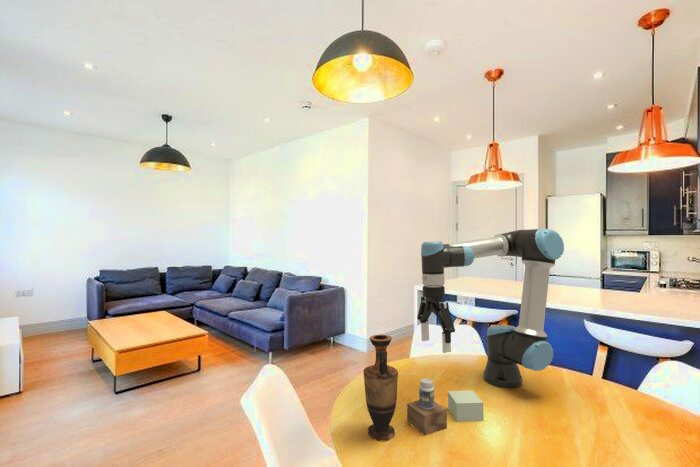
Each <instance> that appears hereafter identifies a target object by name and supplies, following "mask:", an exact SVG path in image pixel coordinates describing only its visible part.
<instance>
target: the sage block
mask: <svg viewBox="0 0 700 467" xmlns="http://www.w3.org/2000/svg"><path fill="white" fill-rule="evenodd" d="M447 408H448V409H447V410H449V412H450V414H451V415H452V417H453V418H454V420H455V419H456V420H455V421H456V422H483V421H484V402H483V401H482V399H481V398H480V397H479V396H478V394H476V393H475V391H474V390H450V391H449V390H448V391H447Z"/></svg>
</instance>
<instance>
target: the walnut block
mask: <svg viewBox="0 0 700 467" xmlns="http://www.w3.org/2000/svg"><path fill="white" fill-rule="evenodd" d="M447 410H448V409H447V408H445V407H444V406H443V405H441V404H439V403H437V402H436V401H434V408H433V409H430V410H427V409H423V408H421V407H420V405H419V400H415V401H412V402H408V403H406V414H407V416H406V418H407V420H406V421H408V422H409V423H408V422H407V423H408V424H409V425H411V424H412V425H413V426H414V427H413V426H412V425H411V426H412V427H413V428H415V429H416V430H417V429H418V430H419V431H418V430H417V431H418V432H419V433H421V434H422V433H423V434H424V436H427V434H428V435H431V434H434V433H436V431H437V432H439V431H443V430H445V429H447V428H448V412H447ZM433 432H434V433H433ZM430 433H431V434H430ZM423 434H422V435H423Z"/></svg>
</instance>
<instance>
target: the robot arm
mask: <svg viewBox="0 0 700 467" xmlns="http://www.w3.org/2000/svg"><path fill="white" fill-rule="evenodd" d="M420 250H421V252H420V255H421V258H420V259H421V273H422V277H421V280H422V281H421V282H422V285H423V286H422V296H421V297H420V305H419V309H418V313H417V316H416V318H417V320H418V321H419V323H420V329H421V332H420V333H421V342H426V341H427V342H428V341H430V328H429V319H430V316H431V314H434V315H435V316H436V317H437V319H438V323H439V324H440V326H441V330H442V332H441V338H442V339H441V341H442V342H441V344H442V353H444V354H446V353H451V352H452V333H455V332H456V328H455V325H454V321H453V318H452V315H451V311H450V307H449V302H448V301H445V302H444V301H443V298H445V296H446V293H445V291H446V290H445V289H446V288H445V286H444V285H445V269H446V268H457V267H458V268H459V267H462V268H465V267H468V266H470V265H472V264H473V262H474V261H475V259H477V258H478V259H480V258H485V257H492V256H494V257H495V256H497V257H516V258H521V262H522V264H523V265H524V273H523V274H524V275H523V283H522V284H523V285H522V294H521V301H520V312H519V319H518V325H517V326H516V325H515V326H514V325H507V324H505V325H504V324H498V325H490V326H489V327H488V328H487V330H486V331H487V332H486V348H487V349H486V350H487V351H486V352H487V359H486V360H487V362H486V364H485V368H484V370H483V380H484V381H485V382H486V383H488V384H491V386H492V385H493V386H496V387H499V388H500V387H501V388H504V389H505V388H506V389H508V388H509V389H512V388H513V389H514V388H519V387H521V386H523V377H522V374H521V371H520V367H519V365H520V366H522V367H523V368H525V369H527V370H531V371H534V372H541V371H542V370H544V369H547V367H549V365H550V364H551V363H552V360H553V358H554V349H553V348H552V345H551V344H550V343H549V342H548V334H547V333H546V332H545V329H544V328H545V318H546V317H545V316H546V308H547V298H548V289H549V280H550V269H551V268H552V267H554V266H555V265H556V261H557V260H559V259H560V258H561V257H562V256H563V254H564V251H565V245H564V240H563V238H562V237H561V235H560V234H559V232H557V231H556V230H554V229H548V228H536V229H535V228H533V229H518V230H513V231H509V232H503V233H498V234H495V235H494V236H493V237H487V238H479V239H473V240H472V239H471V240H466V241H458V242H451V243H445V244H444V242H442V241H423V242H422V243H421V249H420Z"/></svg>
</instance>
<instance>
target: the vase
mask: <svg viewBox="0 0 700 467" xmlns="http://www.w3.org/2000/svg"><path fill="white" fill-rule="evenodd" d="M392 338H393V337H392V336H390V335H388V334H375V335H371V336H370V337H369V341H370V343H371V344H372V346H373V347H374V349H375V362H374V364H372V365H368V366H366V367H364V369H363V382H364V383H363V384H364V394H365V402H366V408H367V411H368V414H369V417H370V419H371V422H372V424H371V425H370V426H369V427H368V429H367V434H368V437H370V438H371V439H373V440H375V439H376V441H379V440H387V439H389V440H390V439H392V438H391V437H393V438H394V437H395V434H396V433H395V428H394V427H393V426H392V425H390V423H391V421H392V420H393V417H394V414H395V412H396V408H397V407H396V406H397V398H398V396H397V395H398V380H399V379H398V377H399V372H398V369H397V368H396V367H393V366H390V365H388V351H387V348H388V346H390V343H391V341H392ZM387 441H388V440H387Z"/></svg>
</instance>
